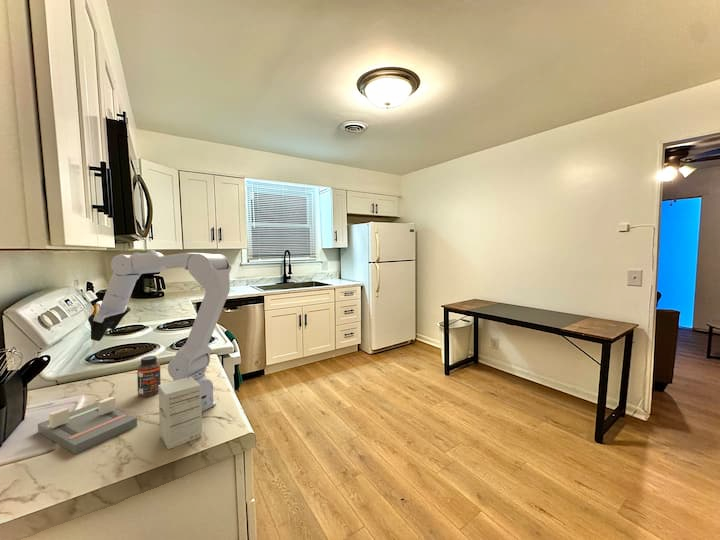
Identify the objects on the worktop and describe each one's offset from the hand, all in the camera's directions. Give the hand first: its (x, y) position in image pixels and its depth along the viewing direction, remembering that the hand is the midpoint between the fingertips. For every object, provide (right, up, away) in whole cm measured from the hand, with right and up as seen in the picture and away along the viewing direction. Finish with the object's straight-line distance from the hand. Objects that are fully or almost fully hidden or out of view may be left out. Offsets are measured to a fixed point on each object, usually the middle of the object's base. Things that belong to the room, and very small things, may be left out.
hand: (103, 333), depth 88 cm
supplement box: (+33, -21, -17) cm, 43 cm away
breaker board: (+8, -21, -14) cm, 26 cm away
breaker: (+3, -18, -16) cm, 25 cm away
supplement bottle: (+10, -20, +5) cm, 23 cm away
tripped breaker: (+10, -18, -10) cm, 23 cm away
